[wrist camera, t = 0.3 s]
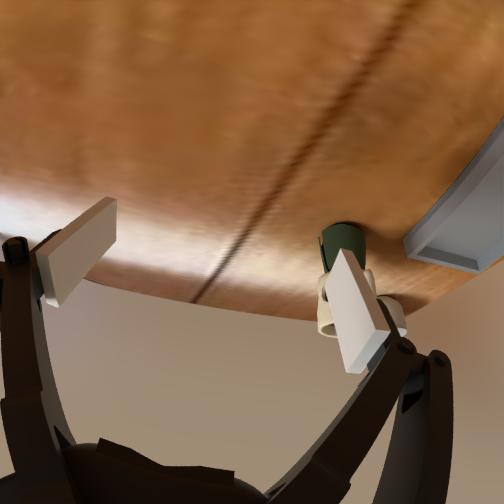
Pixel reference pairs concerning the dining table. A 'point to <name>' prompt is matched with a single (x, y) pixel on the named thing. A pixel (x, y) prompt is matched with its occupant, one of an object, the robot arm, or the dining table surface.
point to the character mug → (329, 249)
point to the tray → (466, 215)
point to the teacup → (395, 313)
